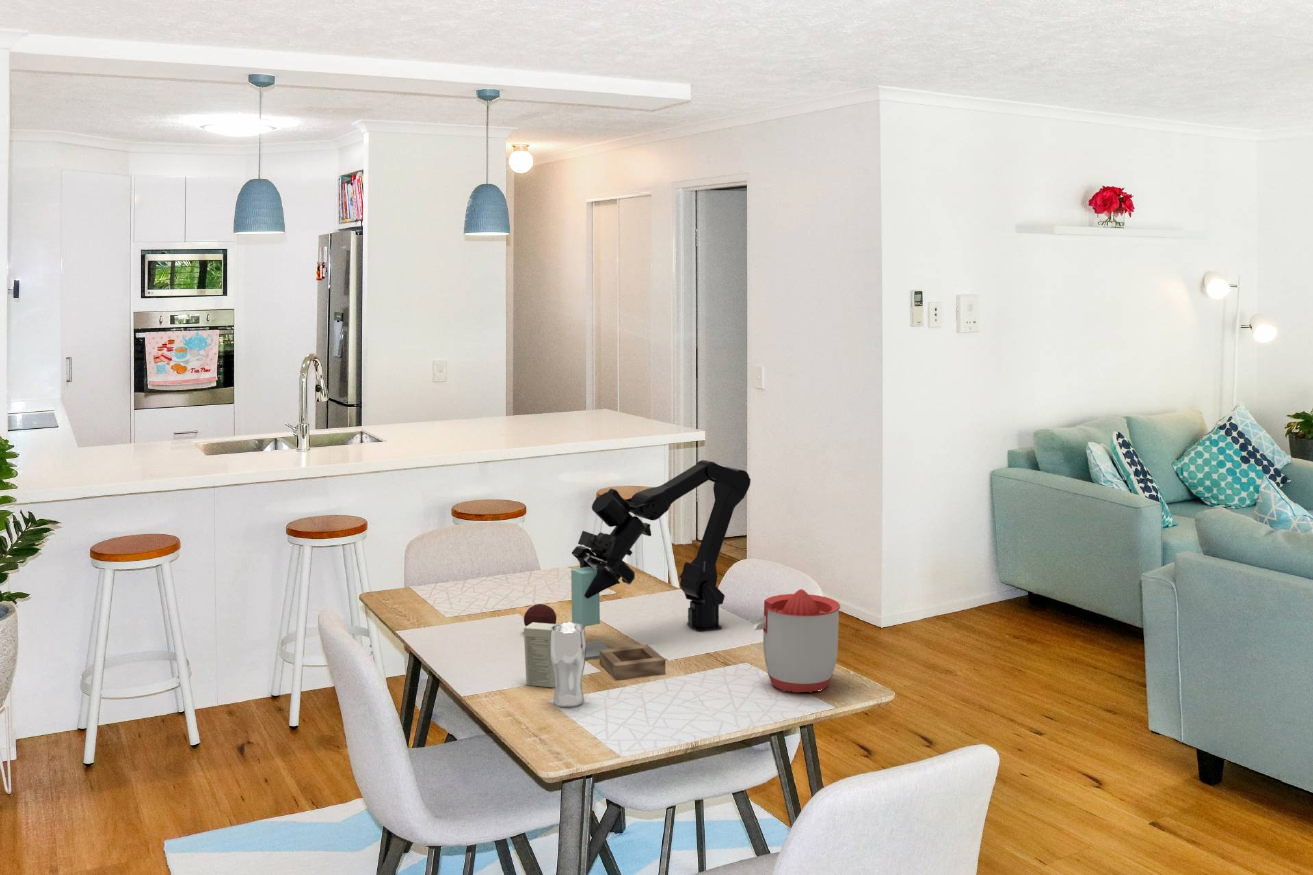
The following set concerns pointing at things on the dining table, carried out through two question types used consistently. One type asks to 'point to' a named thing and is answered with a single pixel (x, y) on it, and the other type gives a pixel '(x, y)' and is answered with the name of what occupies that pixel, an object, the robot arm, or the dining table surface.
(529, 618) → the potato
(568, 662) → the beer glass
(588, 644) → the slate coaster
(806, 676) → the citrus juicer
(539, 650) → the skincare box
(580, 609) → the teal block
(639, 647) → the walnut pocket
